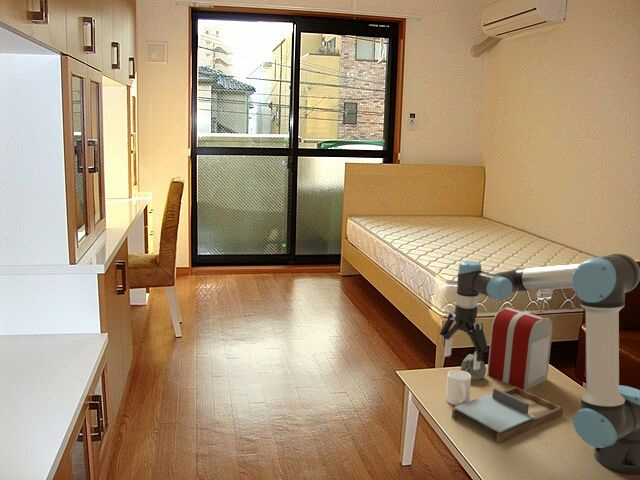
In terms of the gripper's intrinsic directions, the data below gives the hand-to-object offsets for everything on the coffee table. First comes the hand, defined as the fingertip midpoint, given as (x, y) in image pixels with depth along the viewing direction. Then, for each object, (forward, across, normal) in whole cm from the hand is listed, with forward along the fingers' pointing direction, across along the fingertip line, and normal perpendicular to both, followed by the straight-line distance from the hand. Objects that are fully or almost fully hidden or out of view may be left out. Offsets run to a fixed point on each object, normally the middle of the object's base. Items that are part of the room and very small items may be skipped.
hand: (461, 362), depth 224 cm
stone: (+16, +13, -22) cm, 30 cm away
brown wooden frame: (+16, -16, -7) cm, 24 cm away
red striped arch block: (+16, +3, -37) cm, 40 cm away
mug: (+16, 0, 0) cm, 16 cm away
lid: (+12, -16, +1) cm, 20 cm away
